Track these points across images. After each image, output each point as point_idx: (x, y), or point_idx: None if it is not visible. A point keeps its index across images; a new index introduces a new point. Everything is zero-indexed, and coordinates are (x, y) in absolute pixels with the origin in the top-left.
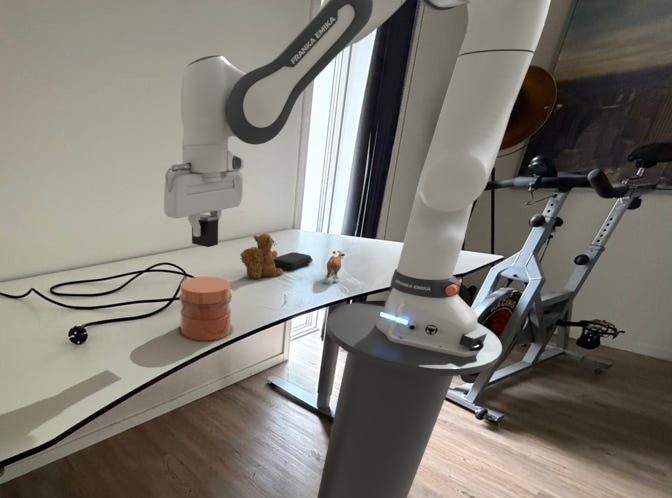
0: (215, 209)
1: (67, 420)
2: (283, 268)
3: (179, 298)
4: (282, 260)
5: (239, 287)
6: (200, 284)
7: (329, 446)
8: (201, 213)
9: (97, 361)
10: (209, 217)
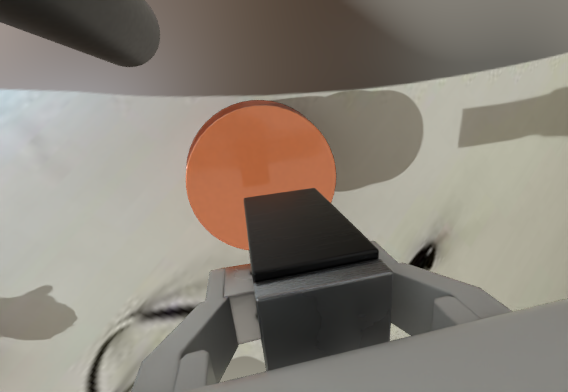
0: (278, 378)
1: (560, 68)
2: None
3: None
4: None
5: (19, 296)
6: (277, 191)
7: (95, 26)
8: (485, 318)
9: (450, 180)
10: (355, 295)
